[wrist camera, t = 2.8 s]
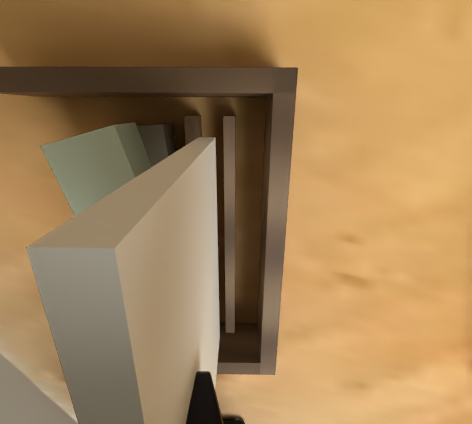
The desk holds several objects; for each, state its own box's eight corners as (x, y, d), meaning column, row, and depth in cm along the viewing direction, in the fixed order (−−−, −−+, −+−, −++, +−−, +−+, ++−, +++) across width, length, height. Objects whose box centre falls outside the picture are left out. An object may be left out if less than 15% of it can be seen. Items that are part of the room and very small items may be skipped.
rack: (269, 333, 21) (275, 374, 18) (90, 331, 21) (63, 371, 18) (284, 77, 15) (297, 67, 12) (31, 76, 15) (-27, 66, 12)
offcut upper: (208, 319, 18) (203, 350, 16) (159, 329, 19) (147, 361, 16) (135, 122, 14) (113, 124, 12) (73, 140, 14) (40, 146, 12)
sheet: (219, 336, 17) (189, 687, 7) (206, 336, 17) (156, 686, 7) (215, 137, 13) (114, 247, 2) (198, 137, 13) (25, 247, 2)
